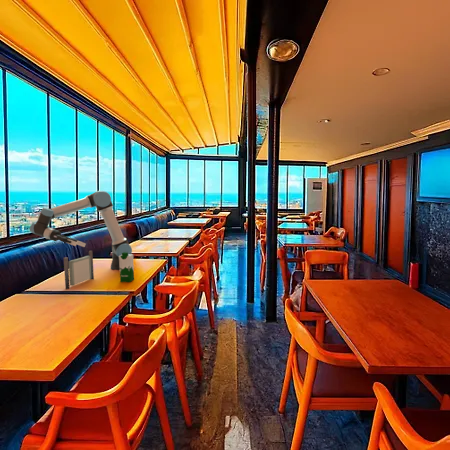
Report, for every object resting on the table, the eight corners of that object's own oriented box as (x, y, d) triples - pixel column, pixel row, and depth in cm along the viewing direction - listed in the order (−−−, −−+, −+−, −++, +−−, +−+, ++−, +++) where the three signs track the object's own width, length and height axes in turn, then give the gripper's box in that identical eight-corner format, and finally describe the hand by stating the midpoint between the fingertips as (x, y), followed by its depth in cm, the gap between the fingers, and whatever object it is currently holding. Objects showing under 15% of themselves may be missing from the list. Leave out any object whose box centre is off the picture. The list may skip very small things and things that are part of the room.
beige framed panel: (88, 278, 237) (87, 255, 236) (91, 278, 237) (90, 255, 235) (70, 285, 219) (68, 261, 217) (72, 285, 218) (71, 261, 217)
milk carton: (118, 282, 228) (117, 253, 227) (123, 279, 237) (122, 251, 236) (131, 282, 228) (129, 253, 226) (135, 279, 237) (134, 251, 235)
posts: (91, 278, 241) (90, 250, 239) (94, 278, 240) (93, 250, 238) (64, 289, 214) (62, 258, 212) (67, 289, 213) (66, 258, 212)
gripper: (59, 240, 245) (86, 250, 244) (40, 238, 220) (70, 249, 219) (63, 231, 246) (90, 240, 245) (44, 227, 221) (74, 238, 220)
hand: (80, 244), depth 232 cm, fingers open, 13 cm apart
